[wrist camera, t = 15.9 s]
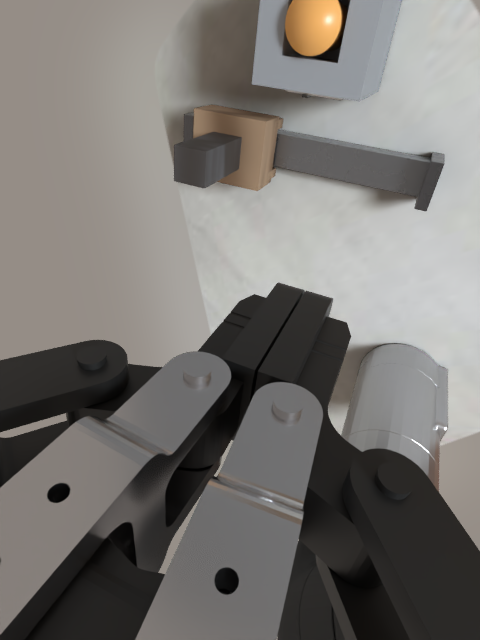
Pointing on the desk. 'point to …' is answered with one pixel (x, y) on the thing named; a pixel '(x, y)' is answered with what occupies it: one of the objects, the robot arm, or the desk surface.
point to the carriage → (228, 148)
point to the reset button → (315, 25)
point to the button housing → (331, 66)
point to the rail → (354, 163)
